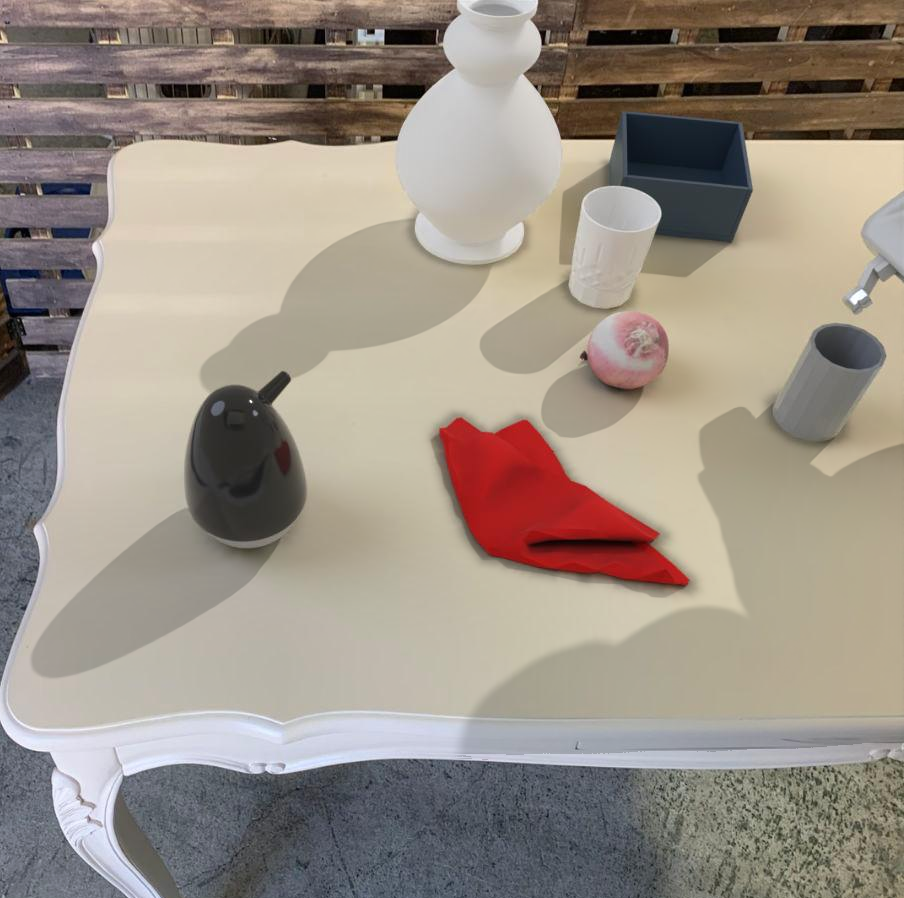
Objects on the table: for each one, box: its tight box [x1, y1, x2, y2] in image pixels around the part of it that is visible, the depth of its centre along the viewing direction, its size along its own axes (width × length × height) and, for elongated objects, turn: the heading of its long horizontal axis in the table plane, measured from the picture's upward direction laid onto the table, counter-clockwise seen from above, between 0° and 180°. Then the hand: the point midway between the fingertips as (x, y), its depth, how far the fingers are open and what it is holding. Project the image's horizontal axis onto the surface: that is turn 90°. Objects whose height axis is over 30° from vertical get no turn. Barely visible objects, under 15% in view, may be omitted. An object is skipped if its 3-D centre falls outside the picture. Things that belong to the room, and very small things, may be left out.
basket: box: [608, 110, 754, 244], centre depth 105 cm, size 14×14×7 cm
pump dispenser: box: [183, 370, 308, 549], centre depth 73 cm, size 10×10×15 cm
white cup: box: [567, 185, 661, 310], centre depth 94 cm, size 8×8×10 cm
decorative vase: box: [394, 0, 563, 265], centre depth 94 cm, size 18×18×25 cm
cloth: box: [438, 417, 690, 586], centre depth 79 cm, size 26×14×2 cm, turn 36°
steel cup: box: [772, 322, 887, 443], centre depth 83 cm, size 6×6×9 cm
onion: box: [579, 310, 670, 391], centre depth 87 cm, size 8×8×7 cm
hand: (880, 340), depth 81 cm, fingers open, 8 cm apart
